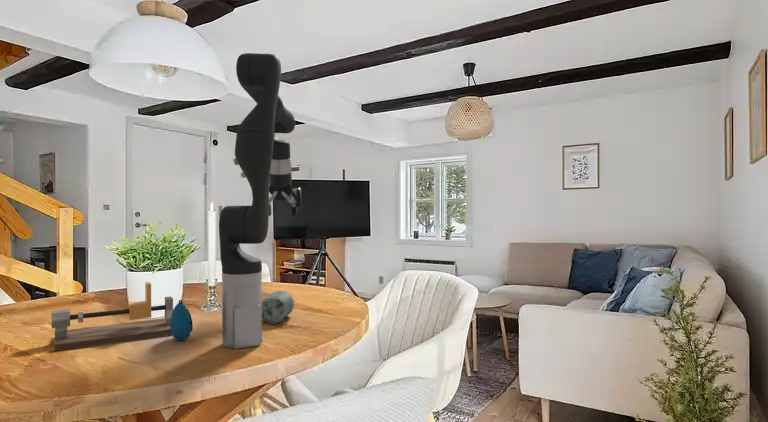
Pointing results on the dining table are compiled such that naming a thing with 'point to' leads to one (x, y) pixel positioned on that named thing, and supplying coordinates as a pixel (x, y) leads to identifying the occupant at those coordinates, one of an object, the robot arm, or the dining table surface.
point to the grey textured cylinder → (277, 306)
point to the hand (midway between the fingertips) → (281, 216)
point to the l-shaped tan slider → (141, 305)
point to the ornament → (181, 322)
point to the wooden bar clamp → (108, 328)
